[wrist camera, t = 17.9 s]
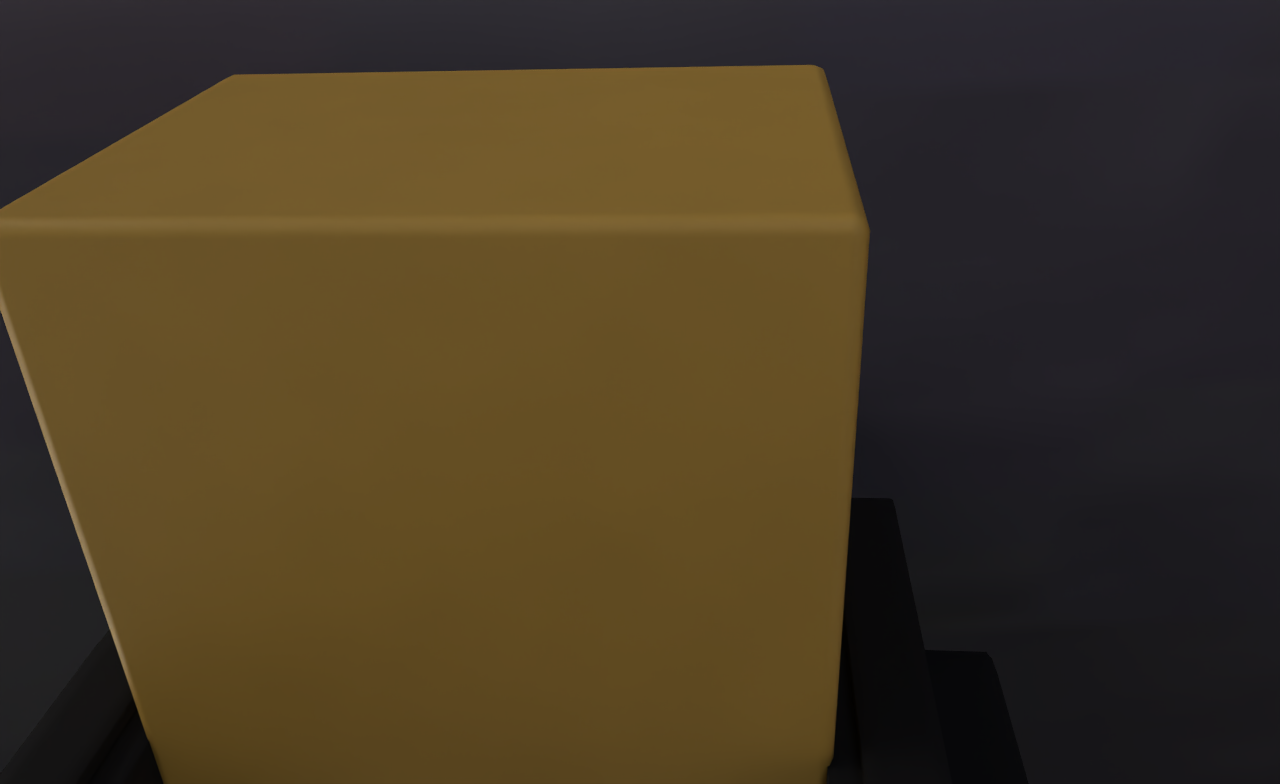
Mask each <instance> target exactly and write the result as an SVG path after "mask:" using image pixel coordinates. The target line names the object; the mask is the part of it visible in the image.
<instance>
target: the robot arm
mask: <svg viewBox="0 0 1280 784" xmlns="http://www.w3.org/2000/svg"><path fill="white" fill-rule="evenodd" d="M0 784H164V783H163V780H162V777H161V774H160V771H159V768H158V765H157V762H156V759H155V757H154V754H153V751H152V748H151V745H150V742H149V740H148V739H147V736H146V733H145V730H144V727H143V724H142V721H141V718H140V715H139V713H138V710H137V707H136V704H135V701H134V698H133V695H132V692H131V689H130V686H129V683H128V680H127V678H126V675H125V672H124V669H123V666H122V663H121V660H120V657H119V654H118V651H117V648H116V645H115V643H114V640H113V637H112V634H111V631H110V629H109V631H108V632H107V634H106V635H105V636H104V638H103V639H102V640H101V641H100V642H99V643H98V644H97V645H96V647H95V648H94V649H93V651H92V652H91V653H90V655H89V656H88V657H87V659H86V660H85V661H84V663H83V664H82V665H81V667H80V668H79V669H78V671H77V672H76V673H75V675H74V676H73V677H72V679H71V680H70V681H69V683H68V684H67V685H66V687H65V688H64V689H63V691H62V692H61V693H60V695H59V696H58V698H57V699H56V700H55V702H54V703H53V704H52V706H51V707H50V708H49V710H48V711H47V712H46V714H45V715H44V716H43V718H42V719H41V720H40V722H39V723H38V724H37V726H36V727H35V728H34V730H33V731H32V732H31V734H30V735H29V736H28V738H27V739H26V740H25V742H24V743H23V744H22V746H21V747H20V748H19V750H18V751H17V753H16V754H15V755H14V757H13V758H12V759H11V761H10V762H9V763H8V765H7V766H6V767H5V769H4V770H3V771H2V773H1V774H0ZM826 784H1028V780H1027V777H1026V773H1025V770H1024V766H1023V763H1022V759H1021V756H1020V752H1019V749H1018V745H1017V742H1016V738H1015V735H1014V731H1013V728H1012V724H1011V720H1010V717H1009V713H1008V710H1007V706H1006V703H1005V699H1004V696H1003V692H1002V689H1001V685H1000V682H999V678H998V675H997V672H996V669H995V666H994V664H993V661H992V658H991V657H990V656H989V655H988V654H987V652H968V651H934V650H924V645H923V640H922V635H921V630H920V626H919V621H918V616H917V611H916V606H915V602H914V597H913V592H912V587H911V582H910V578H909V573H908V568H907V563H906V558H905V554H904V549H903V544H902V539H901V535H900V530H899V525H898V520H897V515H896V511H895V506H894V503H893V500H892V499H884V498H851V510H850V525H849V539H848V554H847V568H846V582H845V597H844V611H843V626H842V640H841V655H840V669H839V683H838V698H837V712H836V727H835V741H834V756H833V759H832V761H831V763H830V766H828V767H827V782H826Z"/></svg>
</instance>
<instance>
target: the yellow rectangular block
mask: <svg viewBox="0 0 1280 784" xmlns="http://www.w3.org/2000/svg"><path fill="white" fill-rule="evenodd" d="M869 236H870V229H869V225H868V222H867V218H866V215H865V211H864V208H863V204H862V201H861V197H860V194H859V190H858V187H857V183H856V180H855V176H854V173H853V169H852V166H851V162H850V159H849V155H848V152H847V148H846V145H845V141H844V138H843V134H842V131H841V127H840V124H839V120H838V117H837V113H836V110H835V106H834V103H833V99H832V96H831V92H830V89H829V85H828V82H827V78H826V76H825V73H824V70H823V69H822V68H820V67H817V66H815V65H781V66H722V67H663V68H604V69H545V70H486V71H428V72H369V73H310V74H251V75H232V76H230V77H228V78H226V79H225V80H223V81H221V82H219V83H218V84H216V85H214V86H212V87H211V88H209V89H207V90H206V91H204V92H202V93H200V94H199V95H197V96H195V97H193V98H192V99H190V100H188V101H187V102H185V103H183V104H181V105H180V106H178V107H176V108H174V109H173V110H171V111H169V112H168V113H166V114H164V115H162V116H161V117H159V118H157V119H155V120H154V121H152V122H150V123H149V124H147V125H145V126H143V127H142V128H140V129H138V130H136V131H135V132H133V133H131V134H129V135H128V136H126V137H124V138H123V139H121V140H119V141H117V142H116V143H114V144H112V145H110V146H109V147H107V148H105V149H104V150H102V151H100V152H98V153H97V154H95V155H93V156H91V157H90V158H88V159H86V160H85V161H83V162H81V163H79V164H78V165H76V166H74V167H72V168H71V169H69V170H67V171H66V172H64V173H62V174H60V175H59V176H57V177H55V178H53V179H52V180H50V181H48V182H47V183H45V184H43V185H41V186H40V187H38V188H36V189H34V190H33V191H31V192H29V193H28V194H26V195H24V196H22V197H21V198H19V199H17V200H15V201H14V202H12V203H10V204H8V205H7V206H5V207H3V208H2V209H0V310H1V313H2V316H3V319H4V322H5V325H6V327H7V330H8V333H9V336H10V339H11V342H12V345H13V348H14V351H15V354H16V357H17V360H18V362H19V365H20V368H21V371H22V374H23V377H24V380H25V383H26V386H27V389H28V392H29V395H30V397H31V400H32V403H33V406H34V409H35V412H36V415H37V418H38V421H39V424H40V427H41V430H42V432H43V435H44V438H45V441H46V444H47V447H48V450H49V453H50V456H51V459H52V462H53V465H54V468H55V470H56V473H57V476H58V479H59V482H60V485H61V488H62V491H63V494H64V497H65V500H66V503H67V505H68V508H69V511H70V514H71V517H72V520H73V523H74V526H75V529H76V532H77V535H78V538H79V540H80V543H81V546H82V549H83V552H84V555H85V558H86V561H87V564H88V567H89V570H90V573H91V575H92V578H93V581H94V584H95V587H96V590H97V593H98V596H99V599H100V602H101V605H102V608H103V610H104V613H105V616H106V619H107V622H108V625H109V628H110V631H111V634H112V637H113V640H114V643H115V645H116V648H117V651H118V654H119V657H120V660H121V663H122V666H123V669H124V672H125V675H126V678H127V680H128V683H129V686H130V689H131V692H132V695H133V698H134V701H135V704H136V707H137V710H138V713H139V715H140V718H141V721H142V724H143V727H144V730H145V733H146V736H147V739H148V740H149V742H150V745H151V748H152V751H153V754H154V757H155V759H156V762H157V765H158V768H159V771H160V774H161V777H162V780H163V783H164V784H826V782H827V767H828V766H830V763H831V761H832V759H833V756H834V741H835V727H836V712H837V698H838V683H839V669H840V655H841V640H842V626H843V611H844V597H845V582H846V568H847V554H848V539H849V525H850V510H851V496H852V481H853V467H854V452H855V438H856V424H857V409H858V395H859V380H860V366H861V351H862V337H863V323H864V308H865V294H866V279H867V265H868V250H869Z"/></svg>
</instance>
